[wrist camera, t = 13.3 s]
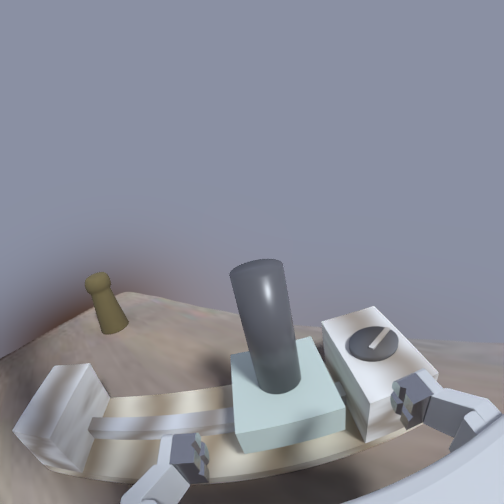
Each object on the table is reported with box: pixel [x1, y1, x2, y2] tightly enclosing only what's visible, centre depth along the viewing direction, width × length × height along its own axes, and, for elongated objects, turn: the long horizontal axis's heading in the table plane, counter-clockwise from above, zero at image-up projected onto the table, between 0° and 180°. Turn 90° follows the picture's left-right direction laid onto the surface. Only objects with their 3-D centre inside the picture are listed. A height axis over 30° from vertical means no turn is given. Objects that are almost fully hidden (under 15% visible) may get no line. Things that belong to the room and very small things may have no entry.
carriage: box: [230, 259, 346, 454], centre depth 21 cm, size 8×10×14 cm
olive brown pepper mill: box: [85, 272, 129, 334], centre depth 49 cm, size 6×6×11 cm
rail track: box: [12, 306, 439, 485], centre depth 23 cm, size 38×12×7 cm, turn 95°
